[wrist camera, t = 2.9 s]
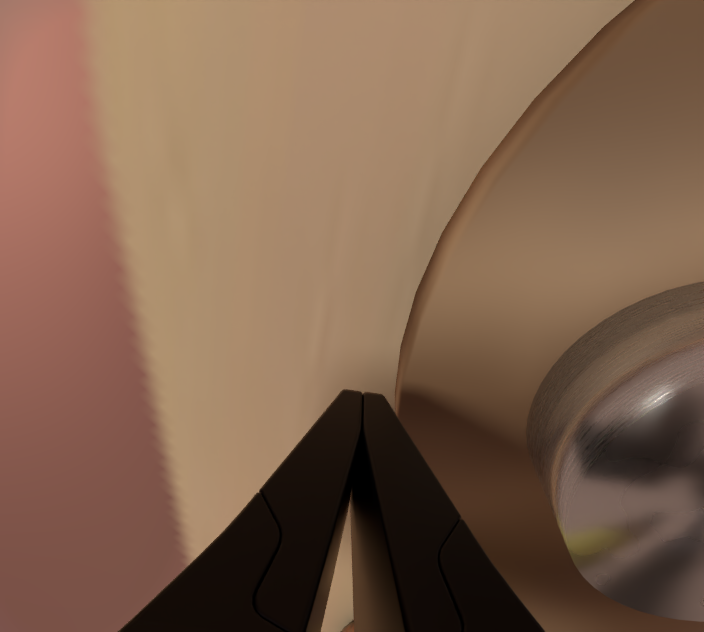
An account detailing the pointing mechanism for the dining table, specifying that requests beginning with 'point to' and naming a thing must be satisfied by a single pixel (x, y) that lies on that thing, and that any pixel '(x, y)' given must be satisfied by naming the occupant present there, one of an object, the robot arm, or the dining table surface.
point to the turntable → (556, 286)
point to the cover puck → (630, 453)
